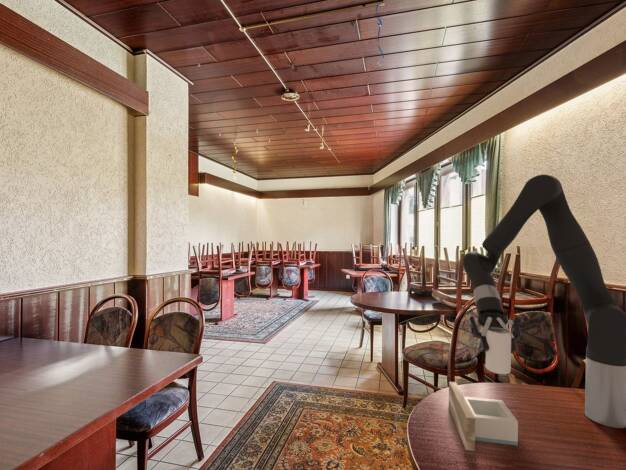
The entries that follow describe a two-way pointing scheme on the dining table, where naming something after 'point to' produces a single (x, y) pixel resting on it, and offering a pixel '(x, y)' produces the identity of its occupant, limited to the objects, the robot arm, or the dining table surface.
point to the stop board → (462, 416)
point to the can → (498, 351)
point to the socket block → (493, 421)
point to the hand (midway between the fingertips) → (499, 351)
